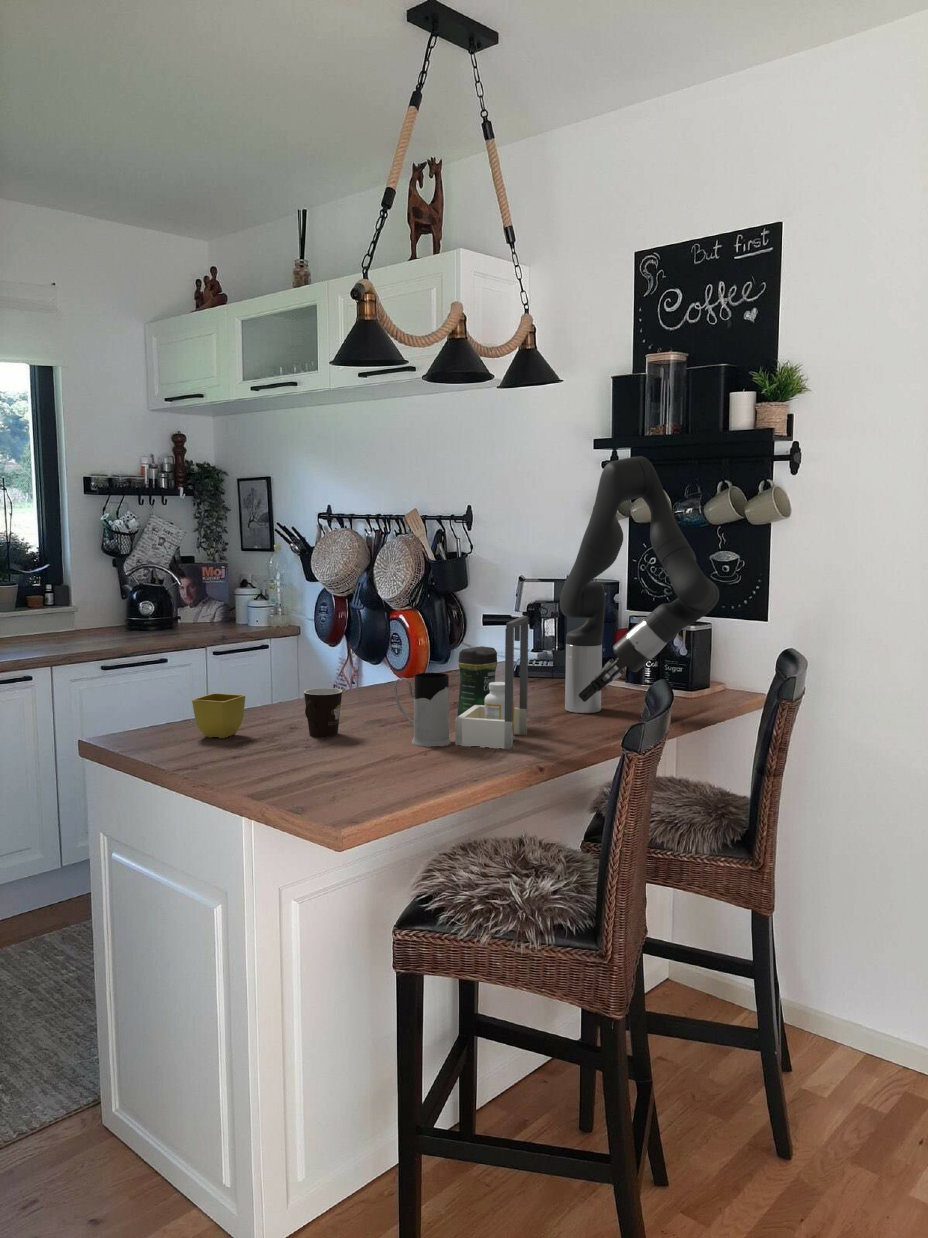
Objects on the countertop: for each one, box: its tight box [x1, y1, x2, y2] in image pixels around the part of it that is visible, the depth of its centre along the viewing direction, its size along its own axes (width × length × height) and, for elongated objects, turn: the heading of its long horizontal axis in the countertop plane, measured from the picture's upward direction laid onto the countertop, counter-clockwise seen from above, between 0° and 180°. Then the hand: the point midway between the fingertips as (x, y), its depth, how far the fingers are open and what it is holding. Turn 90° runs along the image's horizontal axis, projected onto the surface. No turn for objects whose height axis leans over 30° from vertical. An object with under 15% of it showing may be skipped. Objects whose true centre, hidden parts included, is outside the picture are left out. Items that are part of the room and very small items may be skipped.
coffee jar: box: [456, 646, 498, 718], centre depth 234 cm, size 10×8×19 cm
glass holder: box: [393, 672, 452, 748], centre depth 215 cm, size 9×14×15 cm, turn 59°
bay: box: [454, 615, 529, 750], centre depth 216 cm, size 16×12×27 cm
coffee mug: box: [303, 687, 343, 739], centre depth 220 cm, size 12×9×10 cm
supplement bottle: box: [485, 681, 515, 740], centre depth 216 cm, size 7×7×13 cm
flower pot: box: [191, 692, 246, 739], centre depth 219 cm, size 9×9×9 cm
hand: (581, 698), depth 211 cm, fingers closed
